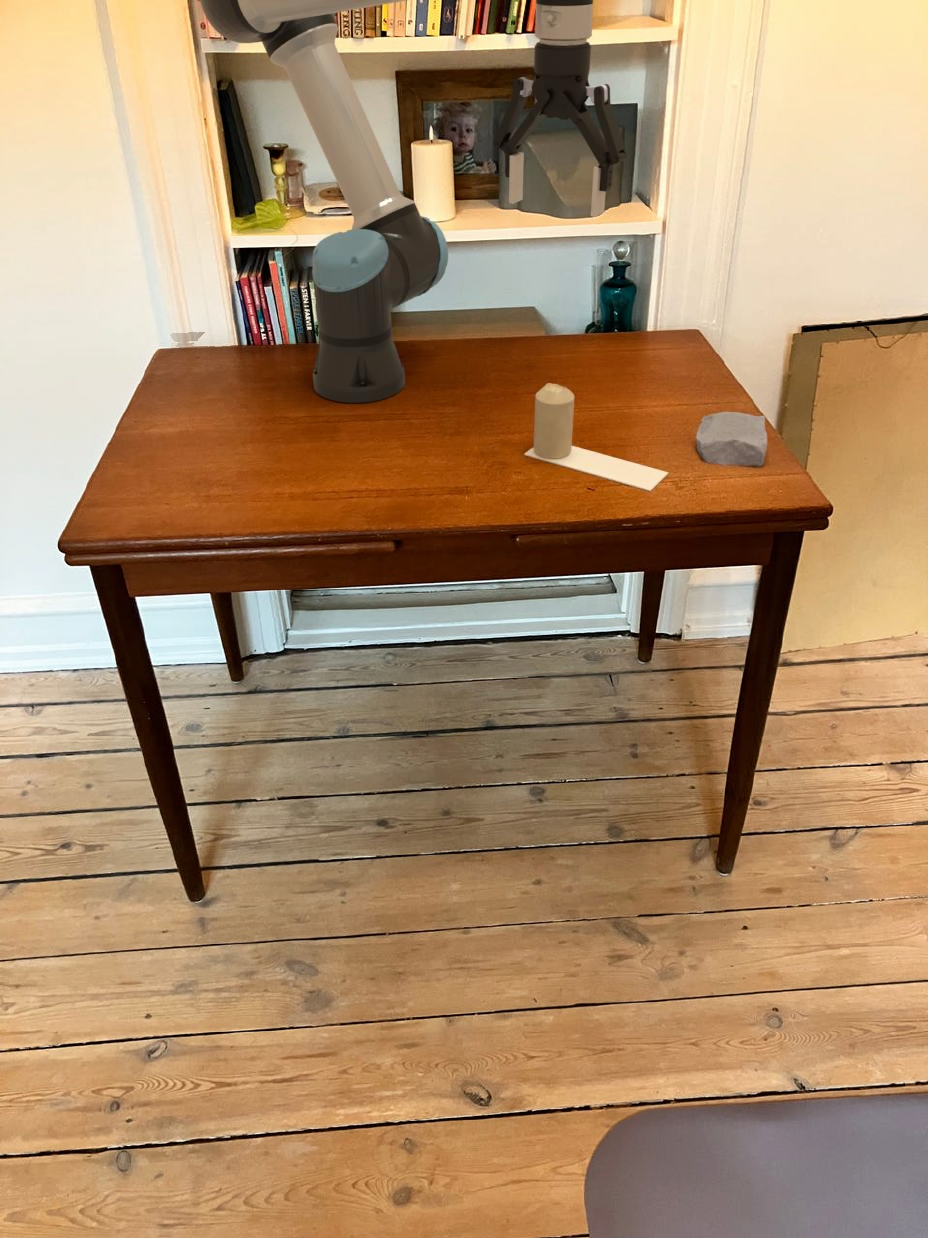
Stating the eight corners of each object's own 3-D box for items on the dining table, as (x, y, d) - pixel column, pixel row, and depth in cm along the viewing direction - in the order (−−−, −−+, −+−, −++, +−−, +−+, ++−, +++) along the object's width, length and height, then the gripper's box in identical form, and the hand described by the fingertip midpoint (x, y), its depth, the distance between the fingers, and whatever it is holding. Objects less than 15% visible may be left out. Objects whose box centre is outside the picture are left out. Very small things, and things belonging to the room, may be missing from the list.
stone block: (698, 475, 144) (770, 468, 141) (695, 445, 141) (769, 436, 139) (697, 441, 153) (764, 434, 151) (694, 412, 151) (763, 404, 148)
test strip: (524, 455, 145) (524, 453, 145) (544, 439, 149) (544, 437, 149) (650, 491, 136) (650, 490, 136) (668, 473, 140) (668, 472, 140)
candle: (577, 447, 146) (581, 383, 140) (560, 462, 143) (563, 397, 137) (544, 438, 149) (547, 375, 143) (526, 453, 145) (528, 388, 139)
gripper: (469, 37, 136) (470, 201, 149) (635, 50, 125) (621, 226, 138) (498, 31, 141) (496, 190, 154) (661, 43, 130) (645, 213, 142)
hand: (555, 207), depth 146 cm, fingers open, 13 cm apart
